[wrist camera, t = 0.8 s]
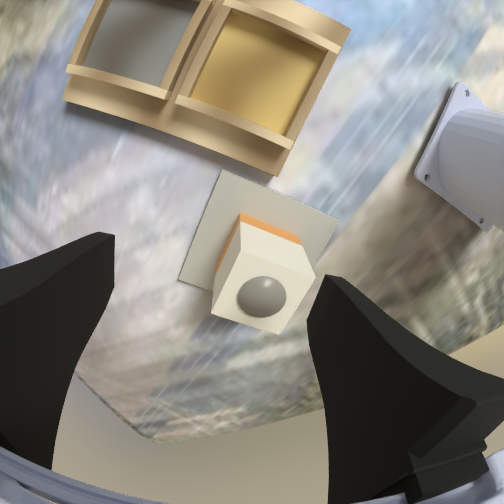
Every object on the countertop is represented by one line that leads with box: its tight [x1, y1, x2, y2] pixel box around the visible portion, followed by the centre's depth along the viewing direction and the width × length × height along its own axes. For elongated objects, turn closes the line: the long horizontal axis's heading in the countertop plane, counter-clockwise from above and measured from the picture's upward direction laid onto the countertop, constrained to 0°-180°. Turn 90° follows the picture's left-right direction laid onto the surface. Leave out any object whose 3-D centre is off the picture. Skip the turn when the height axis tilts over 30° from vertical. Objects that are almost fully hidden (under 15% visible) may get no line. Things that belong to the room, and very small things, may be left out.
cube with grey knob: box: [211, 213, 316, 335], centre depth 18 cm, size 4×4×5 cm
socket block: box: [62, 0, 351, 177], centre depth 14 cm, size 14×10×2 cm
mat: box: [179, 169, 340, 292], centre depth 20 cm, size 8×8×1 cm
